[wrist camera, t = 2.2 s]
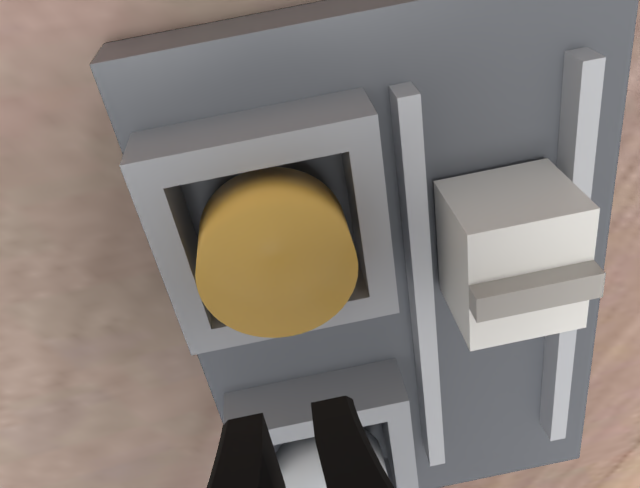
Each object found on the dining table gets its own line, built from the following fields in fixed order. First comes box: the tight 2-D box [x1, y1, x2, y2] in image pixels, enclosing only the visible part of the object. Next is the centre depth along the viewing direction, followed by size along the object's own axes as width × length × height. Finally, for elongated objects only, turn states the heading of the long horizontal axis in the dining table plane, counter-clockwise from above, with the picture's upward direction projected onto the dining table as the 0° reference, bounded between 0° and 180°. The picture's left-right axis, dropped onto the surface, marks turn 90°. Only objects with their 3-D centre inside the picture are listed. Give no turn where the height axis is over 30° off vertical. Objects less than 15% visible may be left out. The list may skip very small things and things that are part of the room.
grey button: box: [276, 429, 388, 488], centre depth 21 cm, size 4×4×2 cm
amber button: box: [195, 167, 358, 338], centre depth 16 cm, size 4×4×2 cm
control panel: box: [90, 0, 639, 488], centre depth 20 cm, size 20×14×4 cm
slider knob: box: [433, 158, 606, 351], centre depth 17 cm, size 4×3×4 cm
